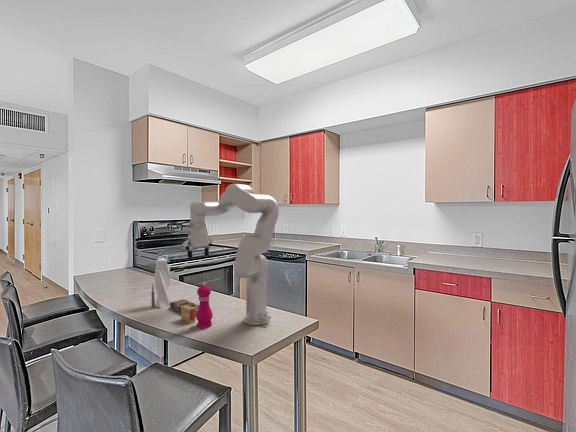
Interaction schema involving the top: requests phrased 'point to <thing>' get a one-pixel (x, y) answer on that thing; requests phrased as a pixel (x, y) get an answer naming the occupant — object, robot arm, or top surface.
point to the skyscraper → (161, 283)
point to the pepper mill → (204, 307)
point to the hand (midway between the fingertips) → (198, 256)
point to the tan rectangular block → (188, 313)
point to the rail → (177, 305)
